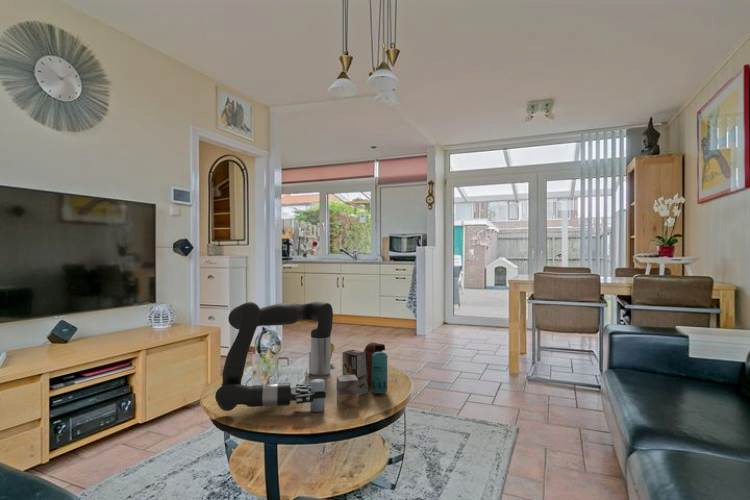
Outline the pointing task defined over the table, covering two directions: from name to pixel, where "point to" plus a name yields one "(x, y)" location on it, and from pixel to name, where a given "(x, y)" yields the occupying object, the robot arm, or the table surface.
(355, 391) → the tower top
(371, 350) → the wooden figurine
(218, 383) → the table surface
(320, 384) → the dowel
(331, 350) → the plant pot
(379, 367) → the beverage bottle
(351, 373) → the coffee box
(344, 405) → the tower base
